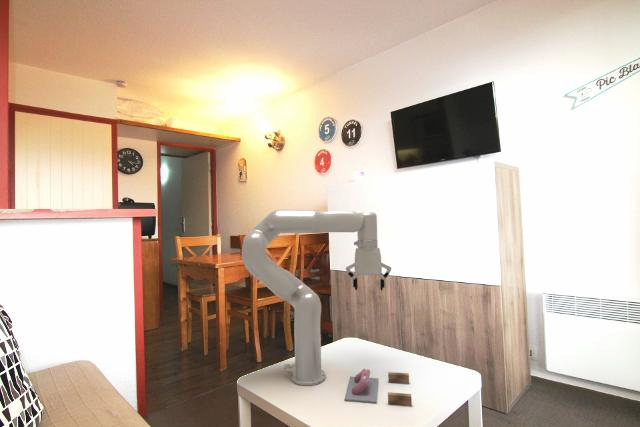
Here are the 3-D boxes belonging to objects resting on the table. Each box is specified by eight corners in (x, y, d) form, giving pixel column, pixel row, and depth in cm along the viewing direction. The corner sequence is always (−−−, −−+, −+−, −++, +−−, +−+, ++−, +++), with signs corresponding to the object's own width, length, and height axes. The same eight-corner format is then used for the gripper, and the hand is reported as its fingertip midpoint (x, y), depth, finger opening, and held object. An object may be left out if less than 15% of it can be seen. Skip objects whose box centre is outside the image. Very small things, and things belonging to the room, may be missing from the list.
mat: (344, 401, 108) (344, 399, 108) (350, 378, 123) (350, 376, 123) (376, 403, 106) (376, 401, 106) (378, 380, 121) (378, 378, 121)
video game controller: (363, 400, 109) (372, 381, 109) (350, 393, 110) (359, 374, 110) (365, 386, 119) (373, 368, 119) (353, 379, 120) (361, 361, 119)
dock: (388, 404, 105) (387, 394, 105) (388, 380, 121) (388, 372, 121) (411, 406, 104) (411, 396, 104) (408, 382, 119) (408, 373, 119)
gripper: (343, 245, 129) (345, 291, 129) (390, 245, 126) (392, 291, 125) (346, 244, 136) (347, 287, 136) (390, 243, 133) (392, 288, 132)
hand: (368, 289), depth 131 cm, fingers open, 9 cm apart
